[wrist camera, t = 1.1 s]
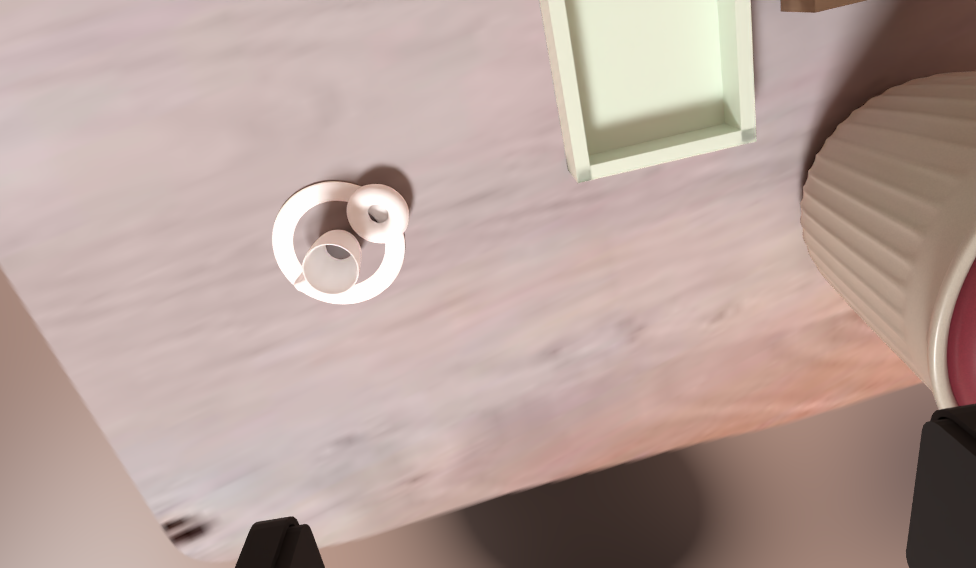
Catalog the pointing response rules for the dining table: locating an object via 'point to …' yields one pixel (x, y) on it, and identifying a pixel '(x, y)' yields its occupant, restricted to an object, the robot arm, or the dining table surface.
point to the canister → (905, 225)
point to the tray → (649, 80)
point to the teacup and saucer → (343, 241)
